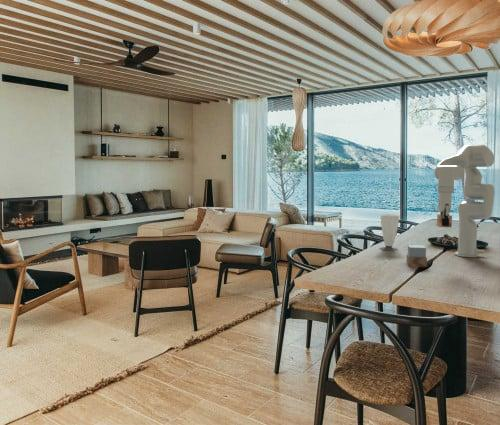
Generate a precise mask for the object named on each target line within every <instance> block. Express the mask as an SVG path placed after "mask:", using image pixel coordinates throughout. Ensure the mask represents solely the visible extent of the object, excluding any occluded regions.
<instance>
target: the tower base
mask: <svg viewBox="0 0 500 425" xmlns="http://www.w3.org/2000/svg"><path fill="white" fill-rule="evenodd" d="M427 261H428V257H427V256H426V258H423V257H409V255H408V253H406V264H407V267H415V266H418V267H419V268H427V266H428V265H427V264H428V262H427ZM418 267H417V268H418Z"/></svg>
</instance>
